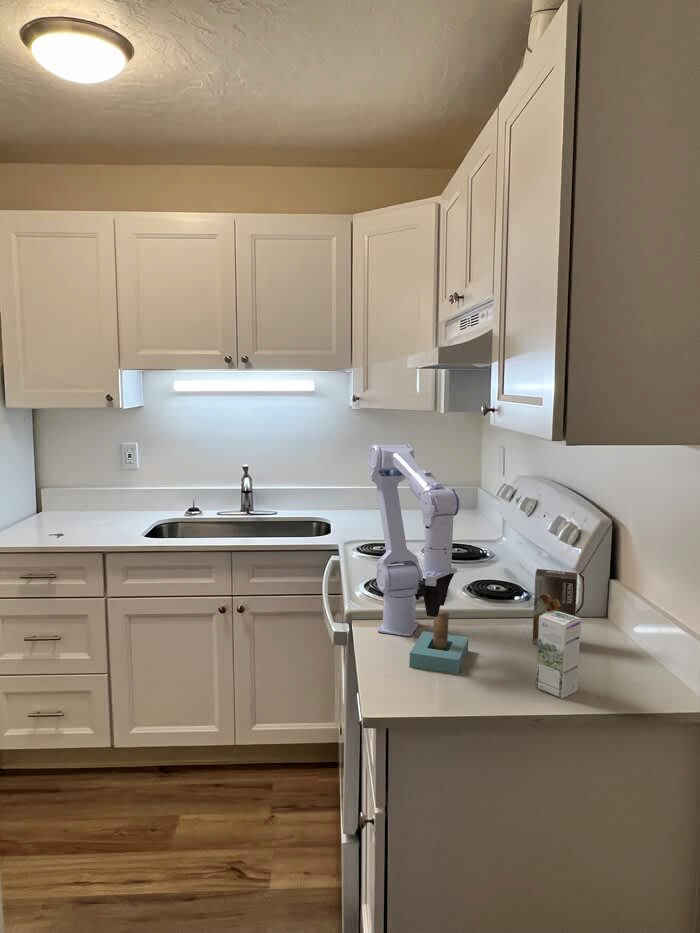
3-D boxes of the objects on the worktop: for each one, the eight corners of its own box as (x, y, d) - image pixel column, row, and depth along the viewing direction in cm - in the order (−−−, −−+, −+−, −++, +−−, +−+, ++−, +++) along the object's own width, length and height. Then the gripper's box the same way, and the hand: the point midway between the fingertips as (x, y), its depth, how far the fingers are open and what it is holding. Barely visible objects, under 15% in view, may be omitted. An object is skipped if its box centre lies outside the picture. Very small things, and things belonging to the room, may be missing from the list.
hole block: (422, 644, 142) (423, 631, 142) (467, 650, 139) (468, 637, 139) (409, 667, 130) (409, 652, 130) (458, 674, 127) (459, 660, 126)
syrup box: (578, 691, 121) (582, 616, 119) (561, 700, 117) (565, 623, 115) (551, 680, 125) (555, 608, 123) (534, 689, 121) (538, 615, 120)
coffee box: (575, 641, 146) (579, 572, 144) (574, 651, 140) (578, 579, 138) (533, 634, 149) (537, 567, 148) (530, 644, 143) (534, 574, 142)
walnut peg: (434, 655, 136) (435, 609, 135) (448, 657, 135) (449, 611, 134) (431, 660, 133) (432, 614, 132) (445, 662, 133) (447, 615, 131)
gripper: (451, 556, 124) (449, 624, 126) (462, 541, 138) (460, 602, 139) (416, 553, 126) (414, 619, 128) (430, 538, 140) (428, 598, 141)
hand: (435, 610), depth 134 cm, fingers open, 7 cm apart
